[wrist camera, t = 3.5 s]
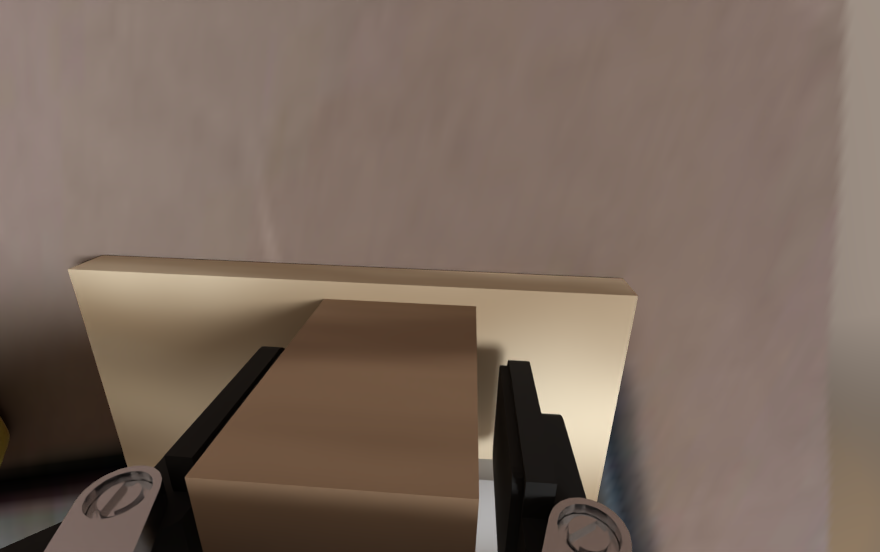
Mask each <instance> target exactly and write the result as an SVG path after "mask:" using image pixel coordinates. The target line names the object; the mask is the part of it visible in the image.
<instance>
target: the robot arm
mask: <svg viewBox="0 0 880 552" xmlns="http://www.w3.org/2000/svg"><path fill="white" fill-rule="evenodd" d="M284 350H285V348H283V347H268V346H262V347H261V348H259V349H258V351H257V352H256V353H255V354H254V355H253V356H252V357H251V358H250V360H249V361H248V362H247V363H246V364H245V365H244V366H243V367H242V369H241V370H240V371H239V372H238V373H237V374H236V375H235V376H234V378H233V379H232V380H231V381H230V382H229V383H228V384H227V385H226V387H225V388H224V389H223V390H222V391H221V392H220V393H219V394H218V395H217V397H216V398H215V399H214V400H213V401H212V402H211V403H210V404H209V406H208V407H207V408H206V409H205V410H204V411H203V412H202V413H201V415H200V416H199V417H198V418H197V419H196V420H195V421H194V422H193V424H192V425H191V426H190V427H189V428H188V429H187V430H186V431H185V433H184V434H183V435H182V436H181V437H180V438H179V439H178V440H177V442H176V443H175V444H174V445H173V446H172V447H171V448H170V449H169V450H168V452H167V453H166V454H165V455H164V457H163V458H162V459H161V460H160V461H159V462H158V463H157V464H156V466H155V467H150V466H145V465H141V466H131V467H127V468H122V469H119V470H117V471H114V472H112V473H109V474H107V475H105V476H104V477H102V478H100V479H98V480H97V481H95V482H94V483H92V484H91V485H90V486H89V487H88V488H86V489H85V490H84V491H83V492H82V493H81V494H80V496H79V497H78V498H77V499H76V501H75V502H74V504H73V505H72V507H71V509H70V510H69V512H68V513H67V515H66V517H65V518H64V520H63V521H62V522H60V523H58V524H56V525H54V526H51V527H49V528H47V529H45V530H42V531H40V532H38V533H35V534H33V535H31V536H29V537H26V538H24V539H22V540H20V541H17V542H15V543H13V544H10V545H8V546H6V547H4V548H1V549H0V552H203V550H202V546H201V542H200V538H199V534H198V530H197V526H196V522H195V517H194V513H193V509H192V505H191V501H190V497H189V493H188V489H187V485H186V481H185V476H186V475H187V474H188V472H189V471H190V470H191V469H192V467H193V466H194V465H195V464H196V462H197V461H198V460H199V458H200V457H201V456H202V455H203V453H204V452H205V451H206V449H207V448H208V447H209V446H210V444H211V443H212V442H213V441H214V439H215V438H216V437H217V435H218V434H219V433H220V432H221V430H222V429H223V428H224V426H225V425H226V424H227V423H228V421H229V420H230V419H231V417H232V416H233V415H234V414H235V412H236V411H237V410H238V409H239V407H240V406H241V405H242V403H243V402H244V401H245V400H246V398H247V397H248V396H249V394H250V393H251V392H252V391H253V389H254V388H255V387H256V386H257V384H258V383H259V382H260V380H261V379H262V378H263V377H264V375H265V374H266V373H267V371H268V370H269V369H270V368H271V366H272V365H273V364H274V363H275V361H276V360H277V359H278V357H279V356H280V355H281V354H282V352H283V351H284ZM493 478H494V496H495V515H496V533H497V551H498V552H632V543H631V538H630V533H629V531H628V529H627V528H626V526H625V524H624V522H623V521H622V520H621V519H620V518H619V517H618V516H617V514H616V513H615V512H613V511H612V510H610V509H609V508H608V507H606V506H605V505H603V504H601V503H598V502H596V501H594V500H591V499H587V498H586V495H585V492H584V488H583V485H582V481H581V478H580V474H579V471H578V467H577V464H576V461H575V457H574V454H573V450H572V447H571V443H570V440H569V436H568V433H567V430H566V426H565V423H564V420H563V417H562V416H561V415H560V414H544V413H541V409H540V405H539V400H538V396H537V391H536V387H535V383H534V378H533V374H532V369H531V365H530V362H529V361H517V360H508V362H507V365H500V367H499V377H498V389H497V402H496V414H495V426H494V438H493Z"/></svg>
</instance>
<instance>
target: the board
mask: <svg viewBox="0 0 880 552" xmlns="http://www.w3.org/2000/svg"><path fill="white" fill-rule="evenodd" d="M68 272H69V275H70V278H71V282H72V285H73V288H74V291H75V295H76V298H77V301H78V305H79V308H80V311H81V315H82V318H83V321H84V324H85V328H86V331H87V334H88V338H89V341H90V344H91V348H92V351H93V354H94V357H95V361H96V364H97V367H98V371H99V374H100V377H101V381H102V384H103V387H104V390H105V394H106V397H107V400H108V404H109V407H110V410H111V414H112V417H113V420H114V424H115V427H116V430H117V433H118V437H119V440H120V443H121V447H122V450H123V453H124V457H125V460H126V463H127V466H128V467H131V466H141V465H145V466H150V467H155V466H156V464H157V463H158V462H159V461H160V460H161V459H162V458H163V457H164V455H165V454H166V453H167V452H168V450H169V449H170V448H171V447H172V446H173V445H174V444H175V443H176V442H177V440H178V439H179V438H180V437H181V436H182V435H183V434H184V433H185V431H186V430H187V429H188V428H189V427H190V426H191V425H192V424H193V422H194V421H195V420H196V419H197V418H198V417H199V416H200V415H201V413H202V412H203V411H204V410H205V409H206V408H207V407H208V406H209V404H210V403H211V402H212V401H213V400H214V399H215V398H216V397H217V395H218V394H219V393H220V392H221V391H222V390H223V389H224V388H225V387H226V385H227V384H228V383H229V382H230V381H231V380H232V379H233V378H234V376H235V375H236V374H237V373H238V372H239V371H240V370H241V369H242V367H243V366H244V365H245V364H246V363H247V362H248V361H249V360H250V358H251V357H252V356H253V355H254V354H255V353H256V352H257V351H258V349H259V348H261V347H262V346H268V347H283V348H286V347H287V346H288V345H289V343H290V342H291V341H292V340H293V338H294V337H295V336H296V334H297V333H298V332H299V331H300V329H301V328H302V327H303V325H304V324H305V323H306V322H307V320H308V319H309V318H310V317H311V315H312V314H313V313H314V311H315V310H316V309H317V308H318V306H319V305H320V304H321V302H322V301H323V300H324V299H339V300H359V301H380V302H400V303H420V304H440V305H461V306H476V327H477V392H478V458H479V459H493V438H494V426H495V414H496V402H497V389H498V377H499V367H500V365H507V362H508V360H517V361H529V362H530V365H531V369H532V374H533V378H534V383H535V387H536V391H537V396H538V400H539V405H540V409H541V413H544V414H560V415H561V416H562V417H563V420H564V423H565V426H566V430H567V433H568V436H569V440H570V443H571V447H572V450H573V454H574V457H575V461H576V464H577V467H578V471H579V474H580V478H581V481H582V485H583V488H584V492H585V495H586V498H587V499H591V500H594V501H596V502H597V498H598V493H599V488H600V483H601V478H602V473H603V468H604V463H605V458H606V453H607V448H608V443H609V438H610V433H611V428H612V423H613V418H614V413H615V408H616V403H617V398H618V393H619V388H620V383H621V378H622V373H623V368H624V363H625V358H626V353H627V348H628V343H629V338H630V333H631V328H632V323H633V319H634V314H635V309H636V304H637V299H638V295H637V294H636V293H635V292H634V291H633V290H632V289H631V287H630V286H629V285H628V284H627V283H626V282H625V281H624V279H622V278H599V277H577V276H555V275H532V274H510V273H488V272H465V271H443V270H421V269H398V268H376V267H354V266H331V265H309V264H287V263H264V262H242V261H220V260H198V259H175V258H153V257H131V256H108V255H102V256H100V257H97V258H95V259H92V260H90V261H87V262H85V263H82V264H80V265H77V266H75V267H72V268H70V269H68Z"/></svg>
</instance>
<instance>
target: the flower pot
mask: <svg viewBox="0 0 880 552" xmlns="http://www.w3.org/2000/svg"><path fill="white" fill-rule="evenodd" d="M9 438H10V435H9V431H8V429H7V427H6V425H5V424H4V422H3V420H2V418H1V417H0V466H1V464H2V461H3V458H4V455H5V452H6V449H7V446H8V443H9Z"/></svg>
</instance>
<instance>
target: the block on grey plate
mask: <svg viewBox="0 0 880 552" xmlns="http://www.w3.org/2000/svg"><path fill="white" fill-rule="evenodd" d="M185 481H186V485H187V489H188V493H189V497H190V501H191V505H192V509H193V513H194V517H195V522H196V526H197V530H198V534H199V538H200V542H201V546H202V550H203V552H498V551H497V533H496V515H495V496H494V478H493V459H479V458H478V392H477V327H476V306H461V305H440V304H420V303H400V302H380V301H359V300H339V299H324V300H323V301H322V302H321V304H320V305H319V306H318V308H317V309H316V310H315V311H314V313H313V314H312V315H311V317H310V318H309V319H308V320H307V322H306V323H305V324H304V325H303V327H302V328H301V329H300V331H299V332H298V333H297V334H296V336H295V337H294V338H293V340H292V341H291V342H290V343H289V345H288V346H287V347H286V348H285V350H284V351H283V352H282V354H281V355H280V356H279V357H278V359H277V360H276V361H275V363H274V364H273V365H272V366H271V368H270V369H269V370H268V371H267V373H266V374H265V375H264V377H263V378H262V379H261V380H260V382H259V383H258V384H257V386H256V387H255V388H254V389H253V391H252V392H251V393H250V394H249V396H248V397H247V398H246V400H245V401H244V402H243V403H242V405H241V406H240V407H239V409H238V410H237V411H236V412H235V414H234V415H233V416H232V417H231V419H230V420H229V421H228V423H227V424H226V425H225V426H224V428H223V429H222V430H221V432H220V433H219V434H218V435H217V437H216V438H215V439H214V441H213V442H212V443H211V444H210V446H209V447H208V448H207V449H206V451H205V452H204V453H203V455H202V456H201V457H200V458H199V460H198V461H197V462H196V464H195V465H194V466H193V467H192V469H191V470H190V471H189V472H188V474H187V475H186V476H185Z"/></svg>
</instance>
